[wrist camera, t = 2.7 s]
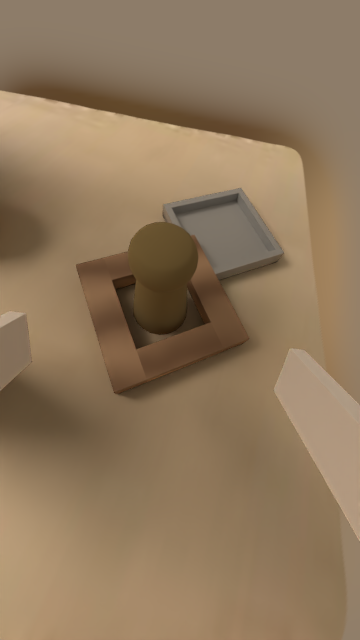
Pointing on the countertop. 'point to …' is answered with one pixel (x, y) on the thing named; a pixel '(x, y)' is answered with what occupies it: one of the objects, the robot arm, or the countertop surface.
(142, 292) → the olive brown bulbous peg
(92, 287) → the socket block
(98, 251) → the countertop surface
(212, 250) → the tray
